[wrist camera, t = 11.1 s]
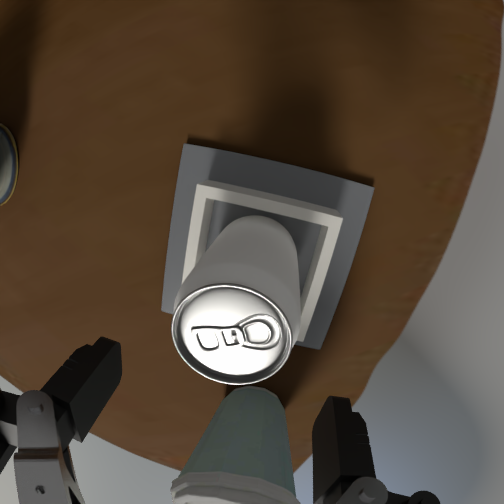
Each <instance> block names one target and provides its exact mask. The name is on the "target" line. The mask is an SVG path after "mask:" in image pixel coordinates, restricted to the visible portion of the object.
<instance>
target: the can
mask: <svg viewBox="0 0 504 504" xmlns="http://www.w3.org/2000/svg"><path fill="white" fill-rule="evenodd" d="M300 324H301V304H300V286H299V271H298V259H297V251H296V247H295V244H294V241H293V239H292V237H291V235H290V233H289V232H288V231H287V230H286V228H285V227H284V226H282V225H281V224H280V223H278V222H277V221H275V220H273V219H271V218H268V217H264V216H258V215H251V216H245V217H241V218H239V219H237V220H235V221H233V222H231V223H230V224H229V225H228V226H226V227H225V228H224V230H223V231H222V232H221V233H220V234H219V236H218V237H217V238H216V239H215V241H214V242H213V243H212V244H211V246H210V247H209V248H208V250H207V251H206V252H205V254H204V255H203V256H202V257H201V259H200V260H199V261H198V263H197V264H196V265H195V267H194V268H193V269H192V271H191V272H190V274H189V275H188V276H187V278H186V279H185V281H184V282H183V284H182V285H181V287H180V289H179V291H178V293H177V296H176V299H175V303H174V314H173V317H172V323H171V333H172V338H173V342H174V345H175V347H176V349H177V351H178V353H179V354H180V356H181V357H182V358H183V360H184V361H185V362H186V363H187V364H188V365H189V366H190V367H191V368H192V369H194V370H195V371H196V372H198V373H200V374H201V375H203V376H205V377H207V378H209V379H211V380H214V381H217V382H221V383H225V384H233V385H245V384H252V383H256V382H259V381H262V380H265V379H267V378H269V377H270V376H272V375H274V374H275V373H276V372H277V371H279V370H280V369H281V368H282V367H283V365H284V364H285V363H286V361H287V359H288V357H289V355H290V353H291V349H292V348H293V346H294V344H295V342H296V340H297V338H298V335H299V331H300Z"/></svg>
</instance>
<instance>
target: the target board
mask: <svg viewBox="0 0 504 504" xmlns="http://www.w3.org/2000/svg"><path fill="white" fill-rule="evenodd" d="M373 191H374V187H371V186H368V185H365V184H361V183H358V182H354V181H351V180H347V179H344V178H340V177H337V176H333V175H329V174H326V173H322V172H318V171H314V170H310V169H306V168H302V167H298V166H294V165H290V164H286V163H282V162H277V161H273V160H268V159H264V158H259V157H255V156H250V155H245V154H240V153H235V152H230V151H225V150H220V149H214V148H209V147H203V146H197V145H191V144H184V145H183V151H182V156H181V162H180V167H179V173H178V179H177V185H176V192H175V198H174V205H173V212H172V219H171V226H170V233H169V241H168V249H167V258H166V267H165V276H164V287H163V297H162V309H161V311H164V312H167V313H170V314H174V303H175V299H176V296H177V293H178V291H179V289H180V287H181V285H182V284H183V282H184V281H185V279H186V278H187V276H188V275H189V274H190V272H191V271H192V269H193V268H194V267H195V265H196V264H197V263H198V261H199V260H200V259H201V257H202V256H203V255H204V254H205V252H206V251H207V250H208V248H209V247H210V246H211V244H212V243H213V242H214V241H215V239H216V238H217V237H218V236H219V234H220V233H221V232H222V231H223V230H224V228H225V227H226V226H228V225H229V224H230V223H231V222H233V221H235V220H237V219H239V218H241V217H245V216H251V215H258V216H264V217H268V218H271V219H273V220H275V221H277V222H278V223H280V224H281V225H282V226H284V227H285V228H286V230H287V231H288V232H289V233H290V235H291V237H292V239H293V241H294V244H295V247H296V251H297V259H298V271H299V286H300V304H301V324H300V331H299V335H298V338H297V340H296V342H295V344H294V345H299V346H304V347H309V348H314V349H319V350H320V349H321V346H322V344H323V341H324V339H325V336H326V334H327V331H328V328H329V326H330V323H331V321H332V318H333V315H334V313H335V310H336V307H337V305H338V302H339V299H340V296H341V293H342V291H343V288H344V285H345V282H346V279H347V276H348V273H349V270H350V267H351V264H352V261H353V258H354V255H355V252H356V249H357V246H358V243H359V240H360V236H361V233H362V230H363V226H364V223H365V220H366V216H367V213H368V209H369V206H370V202H371V199H372V195H373Z"/></svg>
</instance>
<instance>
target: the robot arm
mask: <svg viewBox="0 0 504 504" xmlns="http://www.w3.org/2000/svg"><path fill="white" fill-rule="evenodd" d="M121 376H122V360H121V345H120V343H119V342H116V341H113V340H111V339H108V338H105V337H100V338H99V339H98V340H97V341H96V342H95V343H94V345H93V346H91V345H88V344H86V345H84V346H82V347H80V348H78V349H76V350H75V351H74V353H73V354H72V355H71V356H70V357H69V359H67V360H66V361H65V363H64V364H63V366H61V367H60V368H59V369H58V370H57V372H56V373H55V374H54V375H53V376H52V377H51V378H50V379H49V381H48V382H47V383H46V384H45V385H44V386H43V388H42V389H41V390H40V391H38V390H31V391H27V392H25V393H23V394H22V395H21V396H20V395H16V394H12V393H8V392H5V391H1V389H0V474H1V472H2V470H3V469H4V467H5V465H6V464H7V462H8V460H9V459H10V457H11V456H12V454H13V452H14V451H15V449H16V448H17V447H18V453H14V469H15V476H16V484H17V492H18V498H19V503H20V504H85V502H84V499H83V497H82V494H81V492H80V489H79V486H78V483H77V479H76V475H75V471H74V467H73V462H72V458H71V453H70V449H69V443H70V442H71V440H72V439H75V440H77V441H80V442H81V443H82V442H83V440H84V438H85V437H86V435H87V434H88V432H89V430H90V429H91V427H92V426H93V424H94V422H95V421H96V419H97V418H98V416H99V414H100V413H101V411H102V410H103V408H104V407H105V405H106V403H107V402H108V400H109V399H110V397H111V396H112V394H113V393H114V391H115V389H116V388H117V386H118V385H119V383H120V380H121ZM367 435H368V432H367V427H366V423H365V421H364V419H363V418H362V417H361V415H360V414H359V412H352V408H351V403H350V399H349V398H344V397H336V396H329V397H328V398H327V400H326V402H325V403H324V405H323V407H322V409H321V411H320V413H319V415H318V416H317V418H316V420H315V422H314V426H313V431H312V447H313V504H440V501H439V499H438V498H437V497H436V496H435V495H434V494H432V493H431V492H428V491H418V492H416V493H414V494H413V495H412V496H411V497H408V496H404V495H399V494H395V493H392V492H389V491H387V488H386V486H385V485H384V484H383V483H382V482H381V481H380V480H378V479H376V475H375V469H374V464H373V458H372V453H371V447H370V445H369V437H368V436H367Z"/></svg>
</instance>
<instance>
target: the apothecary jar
mask: <svg viewBox="0 0 504 504" xmlns="http://www.w3.org/2000/svg"><path fill="white" fill-rule="evenodd" d="M17 176H18V152H17V146H16V143H15V140H14V137H13V135H12V133H11V132H10V130H9V129H8V128H7V127H6V126H4V125H3V124H0V205H3V204H4V203H6V202H7V201H8V200H9V199H10V197H11V196H12V194H13V191H14V189H15V186H16V182H17Z"/></svg>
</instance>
